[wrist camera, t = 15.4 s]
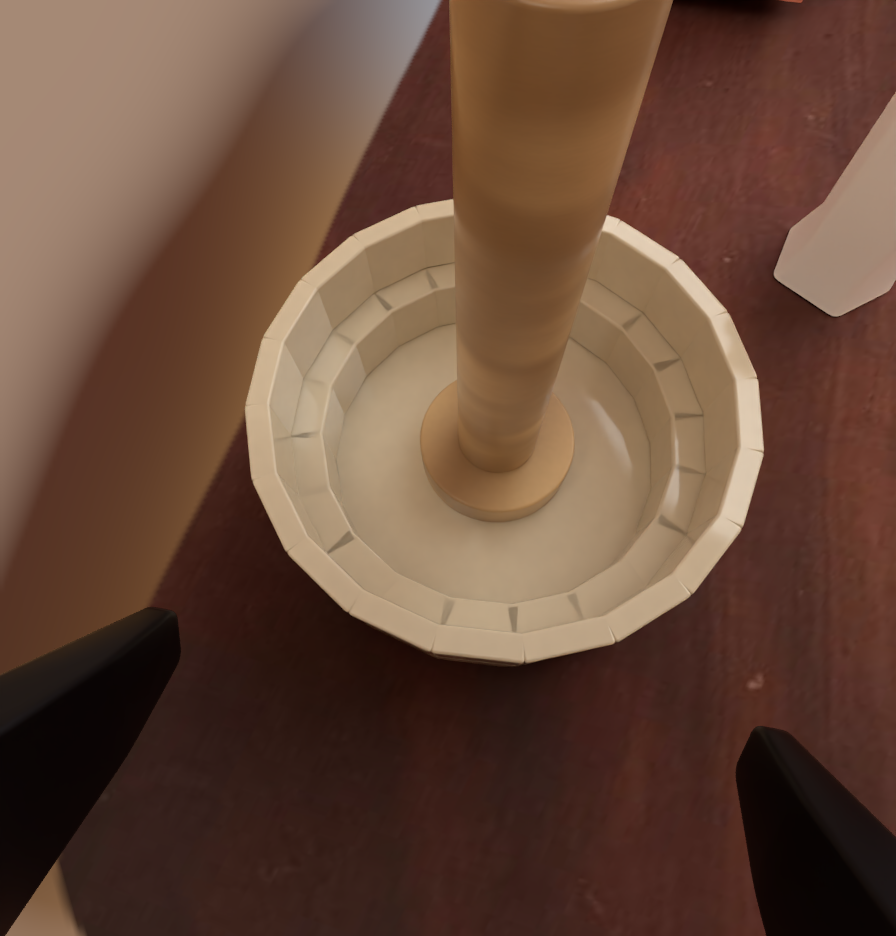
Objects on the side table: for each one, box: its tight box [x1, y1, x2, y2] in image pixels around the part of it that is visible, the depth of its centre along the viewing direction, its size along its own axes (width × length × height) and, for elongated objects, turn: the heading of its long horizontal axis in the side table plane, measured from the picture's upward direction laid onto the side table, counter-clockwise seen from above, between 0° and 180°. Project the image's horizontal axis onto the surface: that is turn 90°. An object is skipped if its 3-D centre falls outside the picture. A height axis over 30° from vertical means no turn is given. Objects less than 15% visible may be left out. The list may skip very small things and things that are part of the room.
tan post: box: [420, 0, 673, 522], centre depth 11 cm, size 4×4×13 cm
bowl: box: [245, 199, 764, 667], centre depth 16 cm, size 12×12×4 cm
